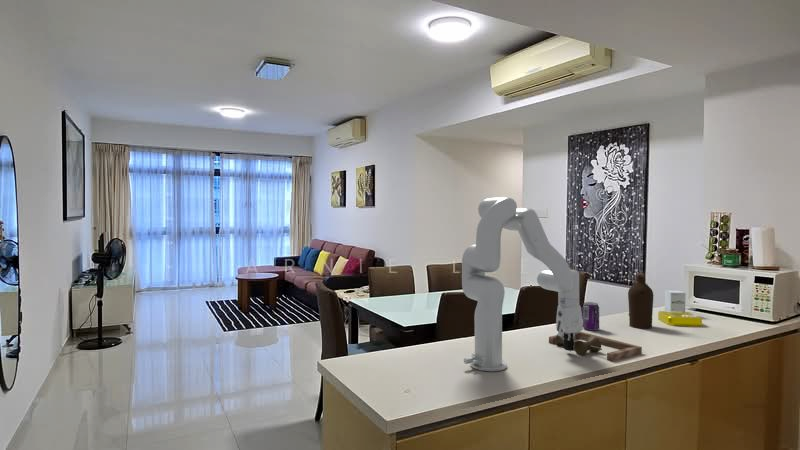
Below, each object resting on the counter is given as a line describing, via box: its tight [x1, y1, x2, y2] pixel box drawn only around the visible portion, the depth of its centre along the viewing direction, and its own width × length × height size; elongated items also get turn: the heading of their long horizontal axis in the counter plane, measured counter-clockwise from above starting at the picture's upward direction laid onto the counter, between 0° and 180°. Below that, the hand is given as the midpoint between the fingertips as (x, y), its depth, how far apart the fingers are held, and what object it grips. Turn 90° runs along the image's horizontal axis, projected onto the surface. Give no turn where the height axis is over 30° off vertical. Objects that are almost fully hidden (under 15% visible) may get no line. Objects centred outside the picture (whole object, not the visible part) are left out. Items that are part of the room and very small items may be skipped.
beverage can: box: [582, 301, 600, 331], centre depth 211 cm, size 7×7×12 cm
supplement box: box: [664, 289, 687, 312], centre depth 239 cm, size 7×7×13 cm
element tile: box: [657, 310, 703, 328], centre depth 222 cm, size 15×15×5 cm
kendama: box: [554, 333, 603, 356], centre depth 178 cm, size 6×10×20 cm
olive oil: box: [627, 272, 654, 330], centre depth 215 cm, size 11×11×25 cm
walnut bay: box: [548, 331, 643, 362], centre depth 181 cm, size 18×29×2 cm, turn 30°
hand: (568, 349), depth 174 cm, fingers closed
